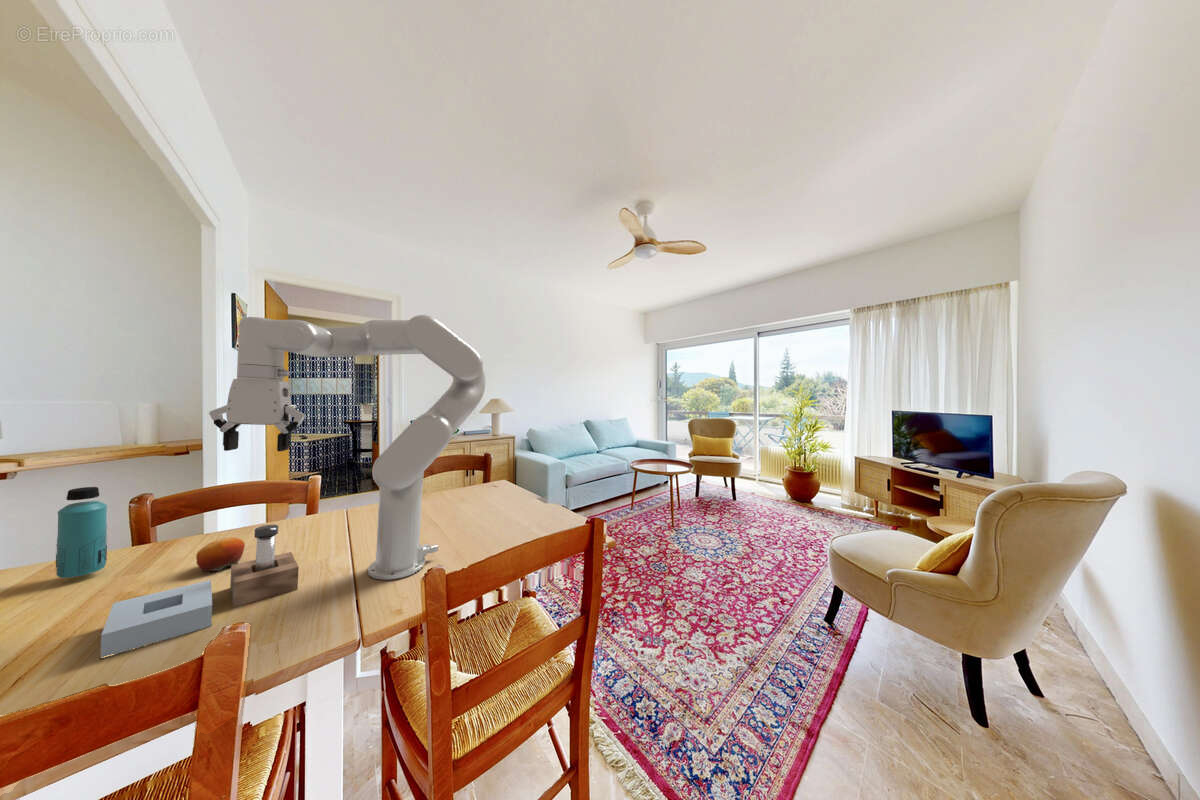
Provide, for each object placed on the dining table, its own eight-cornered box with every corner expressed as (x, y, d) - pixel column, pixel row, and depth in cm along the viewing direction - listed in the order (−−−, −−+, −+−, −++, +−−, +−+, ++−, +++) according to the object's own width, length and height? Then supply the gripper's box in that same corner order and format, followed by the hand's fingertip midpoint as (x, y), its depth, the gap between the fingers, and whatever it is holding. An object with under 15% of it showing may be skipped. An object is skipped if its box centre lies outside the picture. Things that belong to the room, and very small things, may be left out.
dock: (210, 598, 74) (211, 579, 74) (211, 626, 66) (212, 604, 66) (112, 624, 65) (113, 602, 65) (100, 659, 57) (101, 634, 57)
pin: (274, 582, 81) (277, 523, 81) (276, 588, 79) (279, 528, 79) (251, 588, 78) (253, 527, 78) (253, 595, 76) (255, 532, 76)
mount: (290, 572, 86) (291, 551, 86) (297, 589, 79) (298, 566, 79) (230, 587, 78) (231, 565, 78) (232, 607, 71) (234, 582, 71)
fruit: (219, 572, 82) (206, 540, 82) (196, 585, 83) (184, 553, 84) (259, 557, 89) (247, 527, 90) (237, 569, 91) (226, 540, 92)
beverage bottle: (103, 578, 79) (106, 488, 79) (49, 589, 74) (52, 493, 74) (109, 567, 84) (112, 482, 83) (58, 577, 79) (61, 487, 78)
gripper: (314, 377, 85) (311, 448, 86) (226, 372, 81) (223, 446, 81) (296, 375, 78) (293, 453, 78) (198, 370, 74) (194, 452, 74)
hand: (257, 450), depth 80 cm, fingers open, 9 cm apart
